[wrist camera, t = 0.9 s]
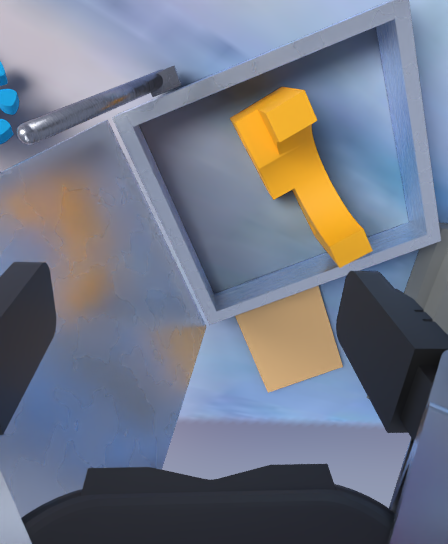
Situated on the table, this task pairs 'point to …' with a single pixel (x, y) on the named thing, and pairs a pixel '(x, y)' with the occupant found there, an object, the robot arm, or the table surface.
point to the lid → (94, 320)
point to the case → (408, 137)
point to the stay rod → (86, 109)
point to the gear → (6, 106)
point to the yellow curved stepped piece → (299, 169)
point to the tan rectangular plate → (290, 339)
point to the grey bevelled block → (432, 280)
